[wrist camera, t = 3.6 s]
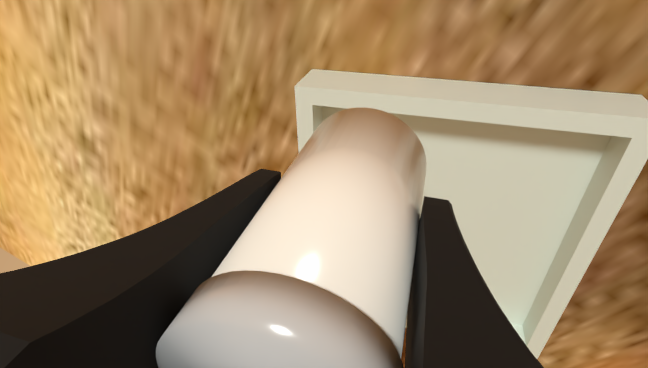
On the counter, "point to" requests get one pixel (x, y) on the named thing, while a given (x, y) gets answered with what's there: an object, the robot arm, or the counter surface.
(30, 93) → the counter surface
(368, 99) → the tray
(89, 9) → the counter surface
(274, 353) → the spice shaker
